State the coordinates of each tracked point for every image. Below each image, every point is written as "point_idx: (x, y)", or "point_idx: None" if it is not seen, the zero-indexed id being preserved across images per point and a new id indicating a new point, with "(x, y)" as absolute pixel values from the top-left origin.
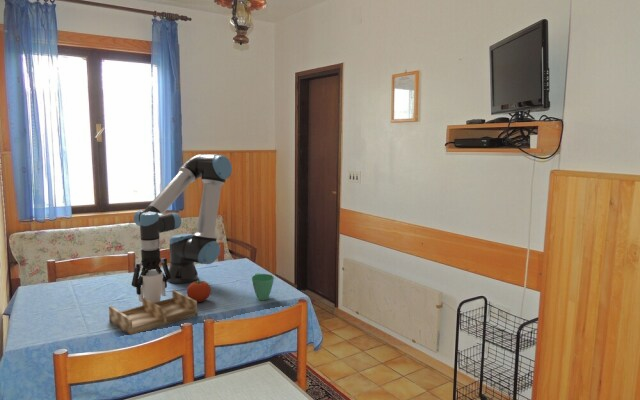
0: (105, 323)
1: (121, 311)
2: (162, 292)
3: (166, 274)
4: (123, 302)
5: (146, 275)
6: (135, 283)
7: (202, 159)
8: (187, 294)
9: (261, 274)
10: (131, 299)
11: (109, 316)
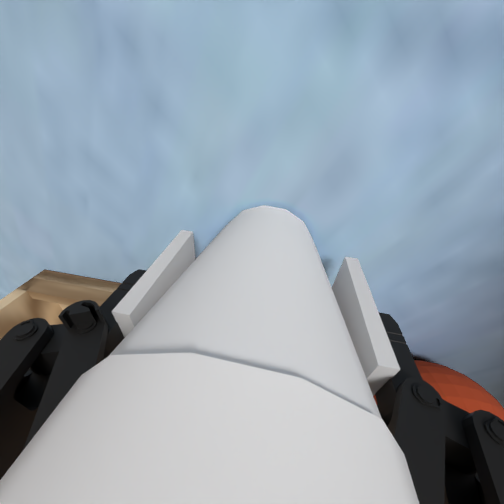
0: (32, 274)
1: (66, 299)
2: (341, 291)
3: (499, 485)
4: (119, 74)
5: (211, 399)
6: (34, 392)
7: None
8: (373, 396)
9: None
10: (194, 50)
11: (26, 283)
